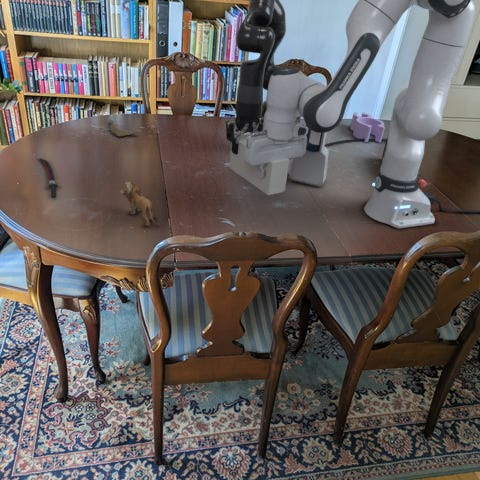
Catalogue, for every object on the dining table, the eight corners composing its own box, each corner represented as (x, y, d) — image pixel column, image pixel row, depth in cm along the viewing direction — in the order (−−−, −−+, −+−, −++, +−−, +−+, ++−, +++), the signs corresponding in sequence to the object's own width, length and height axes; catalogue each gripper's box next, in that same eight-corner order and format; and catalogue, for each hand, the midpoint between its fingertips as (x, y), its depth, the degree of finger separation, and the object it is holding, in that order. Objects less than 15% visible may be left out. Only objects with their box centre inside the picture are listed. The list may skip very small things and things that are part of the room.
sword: (61, 197, 141) (61, 193, 140) (50, 198, 139) (50, 194, 139) (49, 160, 164) (48, 156, 163) (39, 160, 163) (39, 157, 162)
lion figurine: (118, 210, 138) (116, 182, 133) (132, 204, 141) (131, 177, 137) (151, 229, 130) (150, 201, 126) (165, 223, 134) (165, 195, 129)
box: (229, 167, 150) (231, 136, 145) (244, 164, 153) (247, 134, 148) (268, 195, 136) (272, 162, 130) (284, 191, 139) (289, 159, 134)
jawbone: (124, 141, 183) (123, 136, 182) (92, 127, 194) (92, 122, 192) (142, 134, 189) (141, 130, 188) (110, 121, 199) (109, 116, 198)
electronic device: (325, 180, 169) (342, 97, 152) (321, 188, 163) (339, 103, 146) (292, 173, 172) (306, 91, 155) (287, 181, 165) (301, 96, 149)
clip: (343, 126, 223) (346, 112, 219) (367, 127, 225) (371, 113, 221) (360, 142, 206) (364, 127, 202) (386, 142, 209) (390, 127, 205)
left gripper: (236, 104, 131) (231, 160, 140) (276, 100, 139) (269, 153, 148) (222, 97, 136) (218, 151, 145) (261, 93, 144) (255, 144, 153)
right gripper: (254, 137, 122) (249, 184, 130) (313, 128, 133) (305, 172, 140) (241, 129, 126) (237, 175, 134) (299, 121, 137) (292, 164, 144)
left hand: (244, 151), depth 147 cm, fingers closed on box, 6 cm apart
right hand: (272, 174), depth 137 cm, fingers closed on box, 6 cm apart
